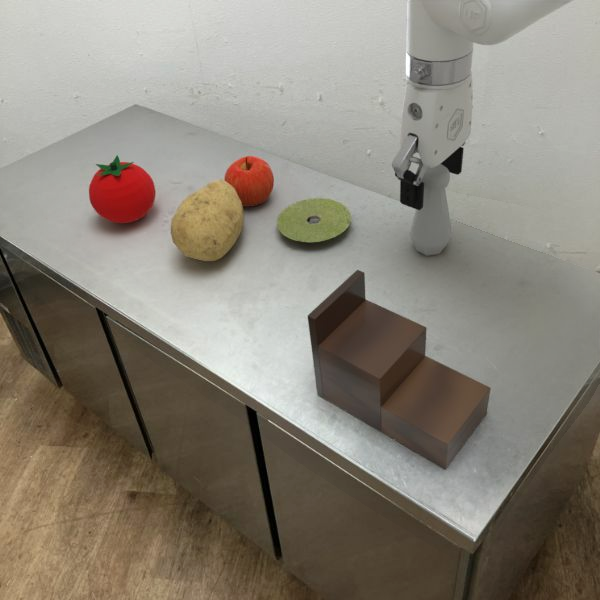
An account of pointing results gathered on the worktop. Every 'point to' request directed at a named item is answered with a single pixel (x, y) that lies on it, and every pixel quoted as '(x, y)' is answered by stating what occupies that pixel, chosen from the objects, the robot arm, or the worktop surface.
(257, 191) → the apple
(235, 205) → the potato
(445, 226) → the salt shaker
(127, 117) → the worktop surface
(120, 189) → the tomato
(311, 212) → the mat
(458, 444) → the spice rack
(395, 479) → the worktop surface
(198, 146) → the worktop surface
